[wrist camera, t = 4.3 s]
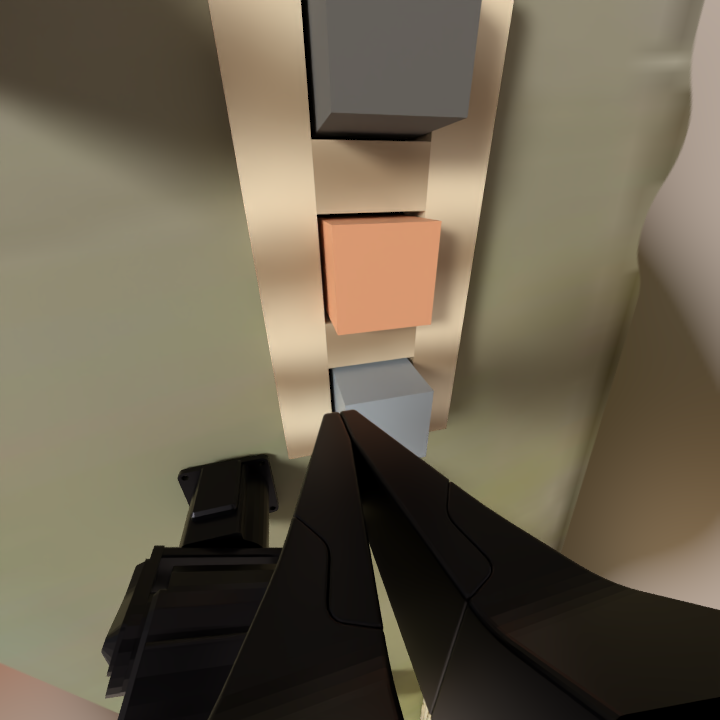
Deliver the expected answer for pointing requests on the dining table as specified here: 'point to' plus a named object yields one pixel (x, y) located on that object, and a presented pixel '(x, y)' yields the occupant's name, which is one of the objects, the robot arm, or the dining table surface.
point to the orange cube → (378, 271)
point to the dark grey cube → (389, 65)
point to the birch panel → (346, 204)
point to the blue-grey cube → (387, 399)
